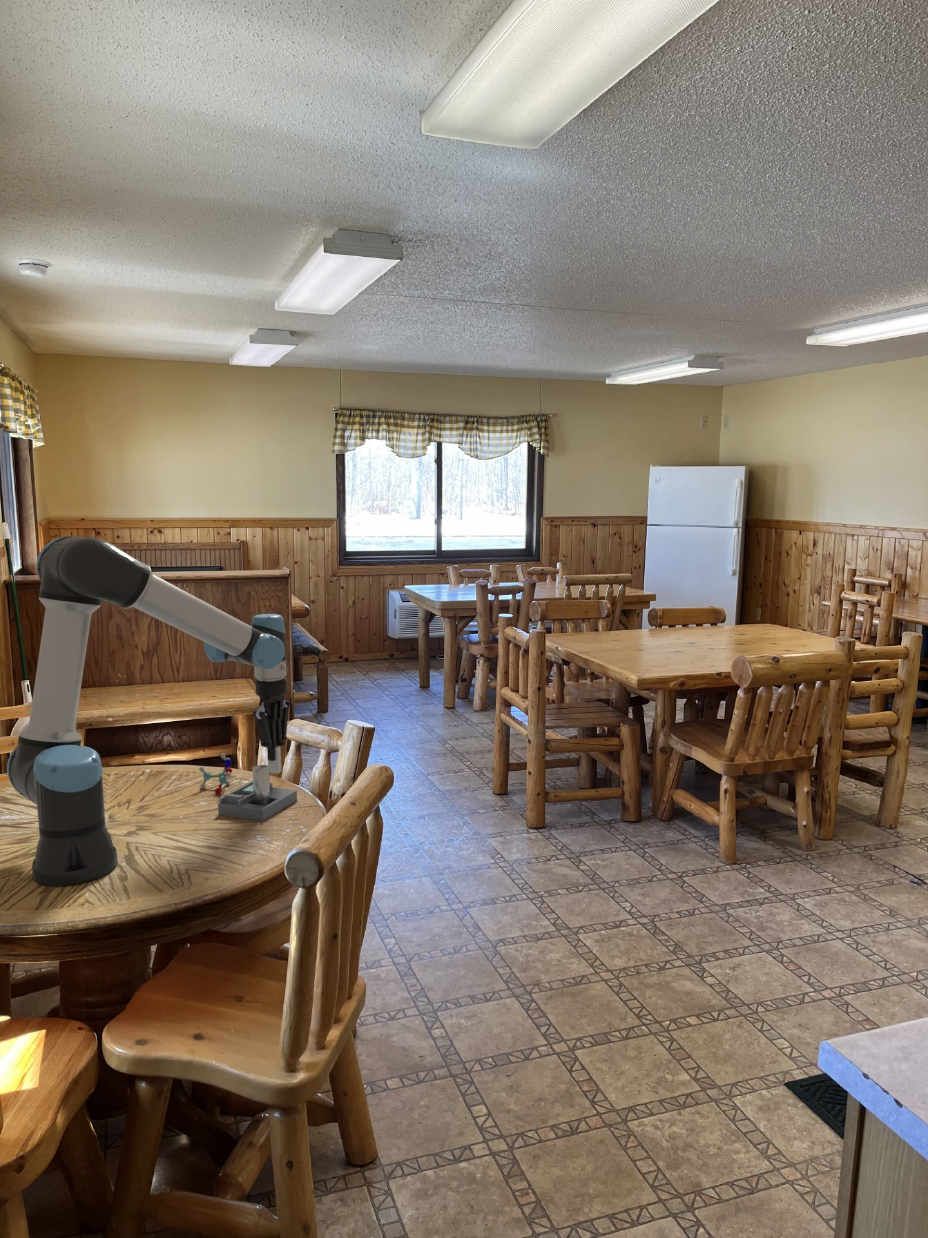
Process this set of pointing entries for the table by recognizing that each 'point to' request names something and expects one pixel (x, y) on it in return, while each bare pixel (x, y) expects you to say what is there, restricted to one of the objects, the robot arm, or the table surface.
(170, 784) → the table surface
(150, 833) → the table surface
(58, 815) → the robot arm
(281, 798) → the housing
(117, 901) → the table surface
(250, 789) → the lid
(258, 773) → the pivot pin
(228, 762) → the molecular model
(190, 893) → the table surface
